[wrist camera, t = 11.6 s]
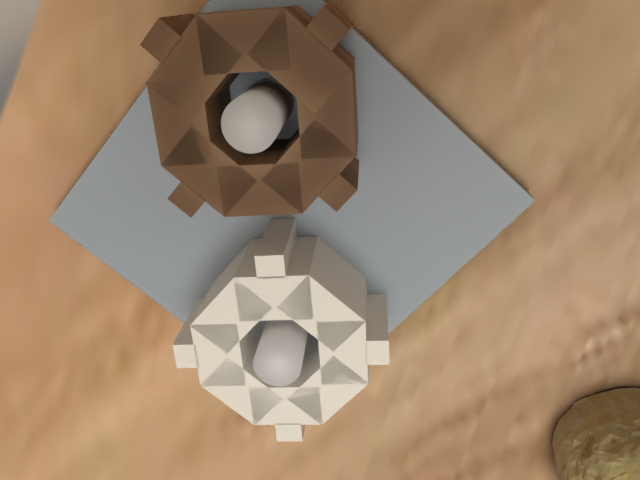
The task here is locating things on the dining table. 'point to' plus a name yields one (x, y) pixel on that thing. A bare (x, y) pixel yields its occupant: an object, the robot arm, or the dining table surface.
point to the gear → (286, 304)
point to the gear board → (319, 218)
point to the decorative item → (600, 437)
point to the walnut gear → (214, 95)
